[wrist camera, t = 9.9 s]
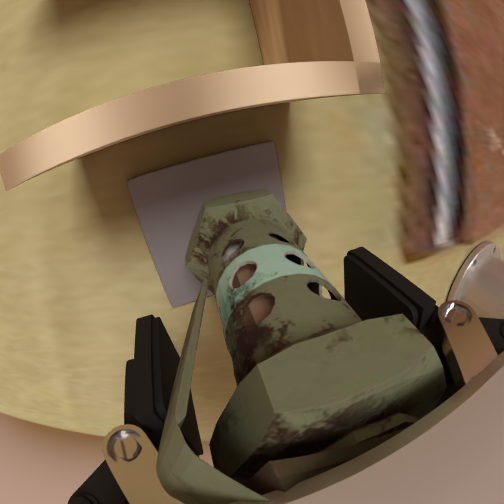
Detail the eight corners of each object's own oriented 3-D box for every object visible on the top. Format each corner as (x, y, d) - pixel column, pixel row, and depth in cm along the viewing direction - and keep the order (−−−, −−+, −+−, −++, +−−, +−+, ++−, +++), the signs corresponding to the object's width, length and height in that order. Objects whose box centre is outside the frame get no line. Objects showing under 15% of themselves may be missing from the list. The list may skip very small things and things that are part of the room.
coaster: (271, 140, 17) (274, 141, 17) (291, 265, 21) (294, 268, 21) (127, 179, 16) (126, 181, 15) (171, 302, 20) (172, 307, 19)
